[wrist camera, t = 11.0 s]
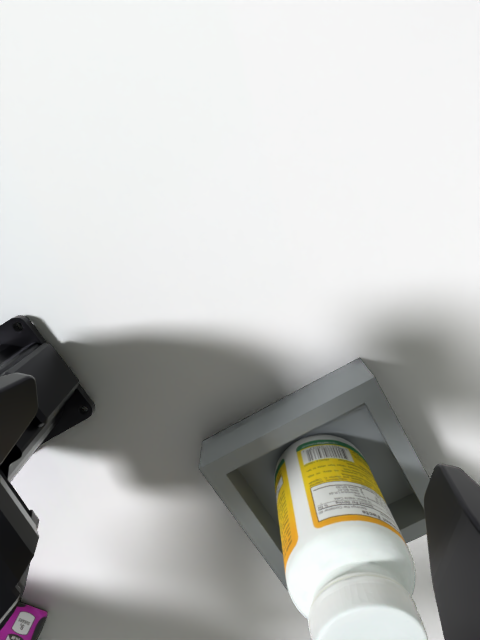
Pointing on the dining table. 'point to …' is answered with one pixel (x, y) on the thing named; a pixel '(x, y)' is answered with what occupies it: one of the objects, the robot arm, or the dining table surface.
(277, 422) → the tray
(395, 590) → the supplement bottle
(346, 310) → the dining table surface
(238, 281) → the dining table surface
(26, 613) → the candy bar box
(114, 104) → the dining table surface
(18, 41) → the dining table surface
